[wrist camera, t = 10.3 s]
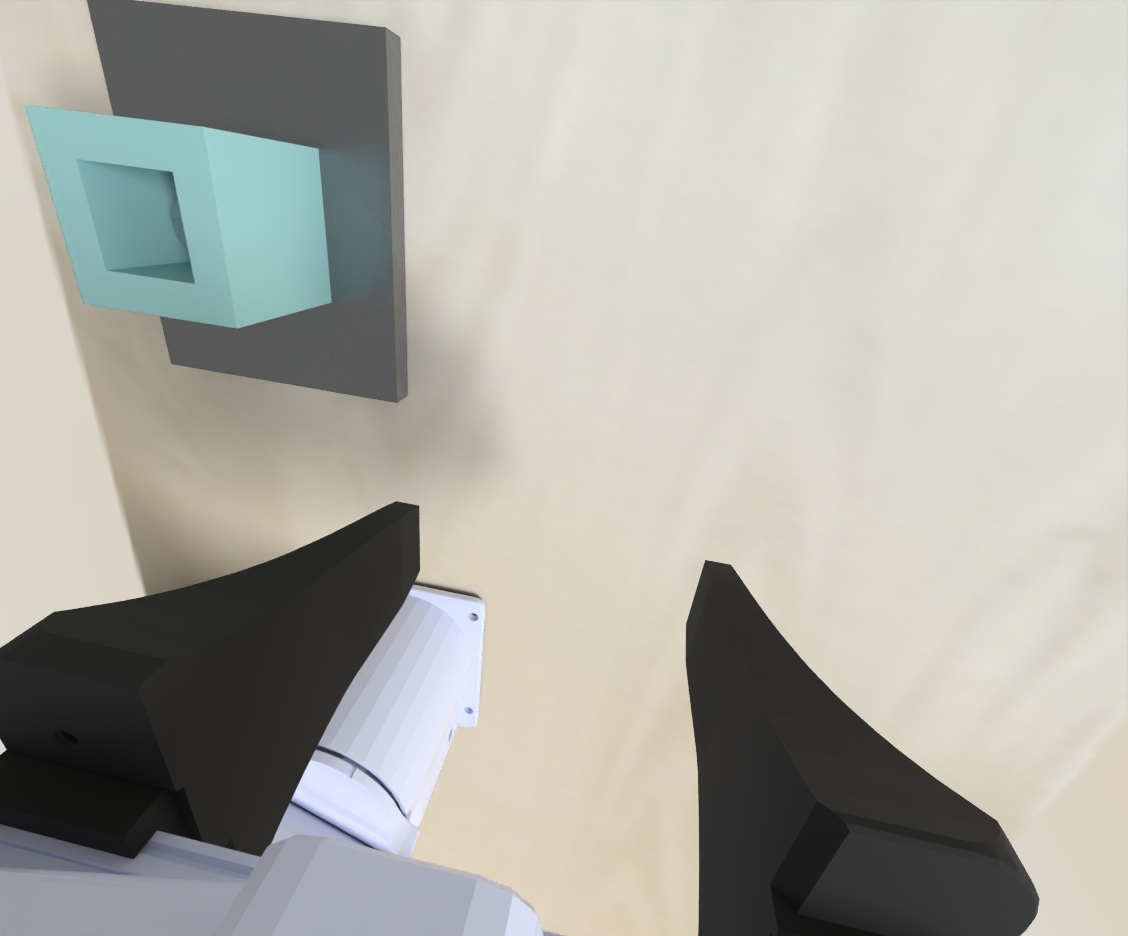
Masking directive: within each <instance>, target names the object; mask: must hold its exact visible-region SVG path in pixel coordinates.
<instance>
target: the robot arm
mask: <svg viewBox="0 0 1128 936" xmlns="http://www.w3.org/2000/svg"><path fill="white" fill-rule="evenodd" d="M419 571H420V534H419V506H418V505H413V504H407V503H402V502H397V501H396V502H394V503H392V504H389V505H387V506H385V507H383V508H381V509H379V510H377V511H375V512H373V513H371V514H369V515H367V516H365V517H363V518H361V519H360V520H358V521H356V522H354V523H352V524H350V525H348V526H346V527H344V528H342V529H340V530H338V531H336V532H334V533H332V534H330V535H328V536H326V537H323V538H321V539H319V540H317V541H314V542H312V543H310V544H308V545H306V546H303V547H301V548H299V549H297V550H295V551H292V552H290V553H288V554H285V555H283V556H280V557H278V558H275V559H273V560H270V561H268V562H265V563H262V564H259V565H256V566H254V567H251V568H248V569H245V570H242V571H239V572H236V573H233V574H230V575H226V576H223V577H219V578H216V579H212V580H209V581H206V582H202V583H199V584H195V585H192V586H188V587H184V588H180V589H176V590H172V591H168V592H164V593H159V594H154V595H150V596H145V597H141V598H136V599H131V600H126V601H120V602H114V603H108V604H102V605H96V606H90V607H84V608H78V609H72V610H65V611H58V612H54V613H52V614H51V615H49V616H47V617H46V618H45V619H43V620H41V621H40V622H38V623H37V624H35V625H34V626H32V627H31V628H29V629H28V630H26V631H25V632H23V633H22V634H20V635H19V636H17V637H16V638H14V639H13V640H11V641H10V642H9V643H7V644H6V645H4V646H3V647H1V648H0V739H1V741H2V743H3V744H4V746H5V747H6V749H7V750H6V751H5V752H3V753H2V754H1V755H0V936H564V935H560V934H556V933H553V932H549V931H545V930H542V928H541V925H540V922H539V918H538V915H537V913H536V912H535V910H534V908H533V906H531V905H530V904H529V903H528V902H527V901H525V900H524V899H523V898H522V897H521V896H520V895H518V894H517V893H516V892H515V891H514V890H512V889H511V888H509V887H507V886H504V885H502V884H499V883H497V882H494V881H492V880H489V879H487V878H484V877H482V876H479V875H475V874H472V873H468V872H464V871H460V870H456V869H452V868H448V867H444V866H440V865H436V864H432V863H428V862H424V861H420V860H416V859H412V858H410V857H411V854H412V852H413V849H414V846H415V844H416V841H417V839H418V836H419V833H420V829H419V828H418V826H419V824H420V822H421V820H422V817H423V815H424V812H425V810H426V807H427V805H428V802H429V799H430V797H431V794H432V792H433V789H434V786H435V784H436V781H437V779H438V776H439V773H440V771H441V768H442V766H443V763H444V760H445V758H446V755H447V753H448V750H449V747H450V745H451V742H452V740H453V737H454V734H455V732H456V729H457V727H458V725H459V726H464V727H469V728H471V727H474V726H476V724H477V721H478V713H479V697H480V682H481V666H482V651H483V635H484V619H485V604H484V602H483V601H482V600H481V599H479V598H476V597H472V596H467V595H462V594H457V593H452V592H447V591H442V590H437V589H433V588H428V587H423V586H418V585H413V584H414V582H415V580H416V578H417V575H418V573H419ZM472 613H474V614H476V615H477V616H475V615H473V614H472ZM686 668H687V677H688V686H689V695H690V703H691V711H692V719H693V727H694V735H695V744H696V752H697V765H698V795H699V932H698V936H1020V935H1021V934H1022V933H1023V932H1025V930H1026V929H1027V928H1028V927H1029V925H1030V924H1031V923H1032V921H1033V920H1034V919H1035V917H1036V915H1037V912H1038V905H1039V897H1038V894H1037V892H1036V889H1035V887H1034V884H1033V883H1032V881H1031V879H1030V877H1029V875H1028V874H1027V872H1026V870H1025V868H1024V866H1023V865H1022V863H1021V861H1020V860H1019V858H1018V856H1017V854H1016V852H1015V850H1014V849H1013V847H1012V845H1011V843H1010V842H1009V840H1008V838H1007V836H1006V835H1005V833H1004V831H1003V830H1002V828H1001V827H1000V825H999V823H998V822H997V821H996V820H995V819H993V818H992V817H991V816H989V815H988V814H986V813H985V812H983V811H982V810H980V809H979V808H978V807H976V806H975V805H973V804H972V803H970V802H969V801H967V800H966V799H964V798H963V797H962V796H960V795H959V794H957V793H956V792H954V791H953V790H951V789H950V788H949V787H947V786H946V785H944V784H943V783H941V782H940V781H938V780H937V779H936V778H934V777H933V776H932V775H930V774H929V773H928V772H926V771H925V770H924V769H922V768H921V767H920V766H919V765H917V764H916V763H915V762H913V761H912V760H911V759H909V758H908V757H907V756H906V755H904V754H903V753H902V752H900V751H899V750H898V749H897V748H895V747H894V746H893V745H892V744H891V743H889V742H888V741H887V740H886V739H884V738H883V737H882V736H881V735H880V734H878V733H877V732H876V731H875V730H874V729H873V728H872V727H870V726H869V725H868V724H867V723H866V722H865V721H864V720H862V719H861V718H860V717H859V716H858V715H857V714H856V713H855V712H853V711H852V710H851V709H850V708H849V707H848V706H847V705H846V704H845V703H844V702H843V701H842V700H841V699H840V698H838V697H837V696H836V695H835V694H834V693H833V692H832V691H831V690H830V688H829V687H828V686H827V685H826V684H825V683H824V682H823V681H822V680H821V679H820V678H819V677H818V676H817V675H816V674H815V673H814V672H813V671H812V670H811V669H810V668H809V667H808V666H807V664H806V663H805V662H804V661H803V660H802V659H801V658H800V656H799V655H798V654H797V653H796V652H795V651H794V649H793V648H792V647H791V646H790V645H789V643H788V642H787V641H786V640H785V639H784V637H783V636H782V635H781V634H780V632H779V631H778V630H777V629H776V627H775V626H774V625H773V623H772V622H771V621H770V619H769V618H768V617H767V615H766V614H765V613H764V611H763V610H762V609H761V607H760V606H759V604H758V603H757V602H756V600H755V599H754V597H753V596H752V595H751V593H750V592H749V590H748V589H747V587H746V586H745V584H744V583H743V581H742V580H741V579H740V577H739V576H738V574H737V573H736V571H735V570H734V568H733V567H732V566H731V565H729V564H723V563H718V562H713V561H708V560H705V563H704V566H703V570H702V573H701V576H700V580H699V583H698V586H697V590H696V593H695V596H694V600H693V603H692V606H691V610H690V613H689V616H688V620H687V623H686Z"/></svg>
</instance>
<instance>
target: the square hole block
mask: <svg viewBox="0 0 1128 936" xmlns="http://www.w3.org/2000/svg"><path fill="white" fill-rule="evenodd" d="M25 109H26V112H27V115H28V119H29V122H30V125H31V129H32V132H33V135H34V139H35V142H36V146H37V149H38V152H39V156H40V159H41V162H42V166H43V169H44V172H45V176H46V179H47V182H48V186H49V189H50V192H51V196H52V199H53V203H54V206H55V209H56V213H57V216H58V219H59V223H60V226H61V229H62V233H63V236H64V239H65V243H66V246H67V250H68V253H69V256H70V260H71V263H72V266H73V270H74V273H75V276H76V280H77V283H78V286H79V290H80V293H81V296H82V300H83V303H84V304H87V305H93V306H100V307H106V308H112V309H118V310H125V311H131V312H137V313H143V314H150V315H156V316H162V317H168V318H175V319H181V320H187V321H193V322H200V323H206V324H212V325H218V326H225V327H231V328H237V329H238V328H241V327H245V326H248V325H252V324H256V323H259V322H263V321H266V320H270V319H274V318H277V317H281V316H284V315H288V314H292V313H295V312H299V311H302V310H306V309H310V308H313V307H317V306H320V305H324V304H328V303H331V302H332V300H331V289H330V277H329V266H328V254H327V243H326V231H325V220H324V208H323V197H322V185H321V174H320V162H319V151H318V148H312V147H307V146H302V145H297V144H291V143H286V142H281V141H275V140H270V139H265V138H260V137H254V136H249V135H244V134H239V133H233V132H228V131H223V130H217V129H212V128H207V127H201V126H193V125H185V124H177V123H169V122H161V121H153V120H144V119H136V118H128V117H120V116H112V115H104V114H96V113H88V112H80V111H72V110H64V109H56V108H48V107H40V106H31V105H25ZM177 200H178V202H179V207H180V212H181V217H182V222H183V227H184V232H185V237H186V242H187V247H188V248H187V247H186V246H185V245H184V244H183V243H182V242H181V241H180V239H179V238H178V236H177V235H176V233H175V231H174V228H173V225H172V221H171V211H172V207H173V205H174V203H175V202H176V201H177Z"/></svg>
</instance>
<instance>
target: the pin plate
mask: <svg viewBox="0 0 1128 936" xmlns="http://www.w3.org/2000/svg"><path fill="white" fill-rule="evenodd" d="M87 2H88V7H89V11H90V15H91V20H92V24H93V28H94V33H95V37H96V41H97V46H98V50H99V54H100V58H101V63H102V67H103V71H104V76H105V80H106V84H107V89H108V93H109V97H110V102H111V106H112V110H113V114H114V116H120V117H128V118H136V119H144V120H153V121H161V122H169V123H177V124H185V125H193V126H201V127H207V128H212V129H217V130H223V131H228V132H233V133H239V134H244V135H249V136H254V137H260V138H265V139H270V140H275V141H281V142H286V143H291V144H297V145H302V146H307V147H312V148H318V151H319V162H320V174H321V185H322V197H323V208H324V220H325V231H326V243H327V254H328V266H329V277H330V289H331V300H332V302H331V303H328V304H324V305H320V306H317V307H313V308H310V309H306V310H302V311H299V312H295V313H292V314H288V315H284V316H281V317H277V318H274V319H270V320H266V321H263V322H259V323H256V324H252V325H248V326H245V327H241V328H238V329H237V328H231V327H225V326H218V325H212V324H206V323H200V322H193V321H187V320H181V319H175V318H168V317H162V316H160V317H161V321H162V326H163V330H164V334H165V338H166V343H167V347H168V351H169V356H170V360H171V364H175V365H181V366H187V367H193V368H198V369H204V370H210V371H216V372H221V373H227V374H233V375H239V376H245V377H250V378H256V379H262V380H268V381H274V382H279V383H285V384H291V385H297V386H303V387H308V388H314V389H320V390H326V391H332V392H337V393H343V394H349V395H355V396H361V397H366V398H372V399H378V400H384V401H390V402H395V403H397V402H399V401H400V400H402V399H403V398H404V397H406V396H407V395H408V394H407V345H406V296H405V247H404V199H403V150H402V101H401V52H400V37H399V36H397V35H396V34H394V33H393V32H392V31H390V30H389V29H387V28H386V27H377V26H367V25H358V24H349V23H339V22H330V21H321V20H311V19H302V18H293V17H283V16H274V15H265V14H255V13H246V12H237V11H227V10H218V9H209V8H199V7H190V6H181V5H171V4H162V3H153V2H143V1H134V0H87ZM171 221H172V225H173V228H174V231H175V233H176V235H177V236H178V238H179V239H180V241H181V242H182V243H183V244H184V245H185V246H186V247H187V242H186V237H185V232H184V227H183V222H182V217H181V212H180V207H179V202H178V200H177V201H176V202H175V203H174V205H173V207H172V211H171ZM187 248H188V247H187Z"/></svg>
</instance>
